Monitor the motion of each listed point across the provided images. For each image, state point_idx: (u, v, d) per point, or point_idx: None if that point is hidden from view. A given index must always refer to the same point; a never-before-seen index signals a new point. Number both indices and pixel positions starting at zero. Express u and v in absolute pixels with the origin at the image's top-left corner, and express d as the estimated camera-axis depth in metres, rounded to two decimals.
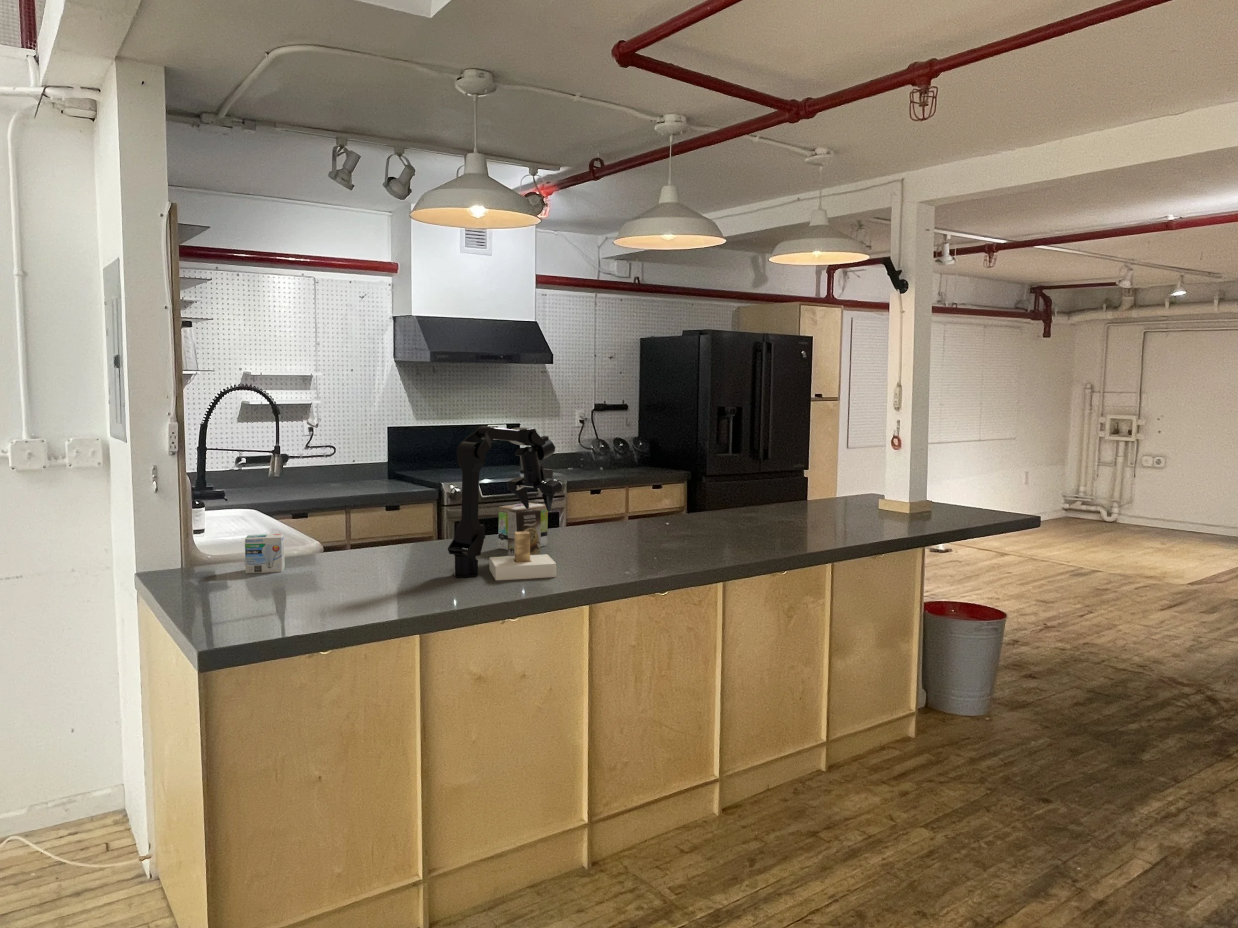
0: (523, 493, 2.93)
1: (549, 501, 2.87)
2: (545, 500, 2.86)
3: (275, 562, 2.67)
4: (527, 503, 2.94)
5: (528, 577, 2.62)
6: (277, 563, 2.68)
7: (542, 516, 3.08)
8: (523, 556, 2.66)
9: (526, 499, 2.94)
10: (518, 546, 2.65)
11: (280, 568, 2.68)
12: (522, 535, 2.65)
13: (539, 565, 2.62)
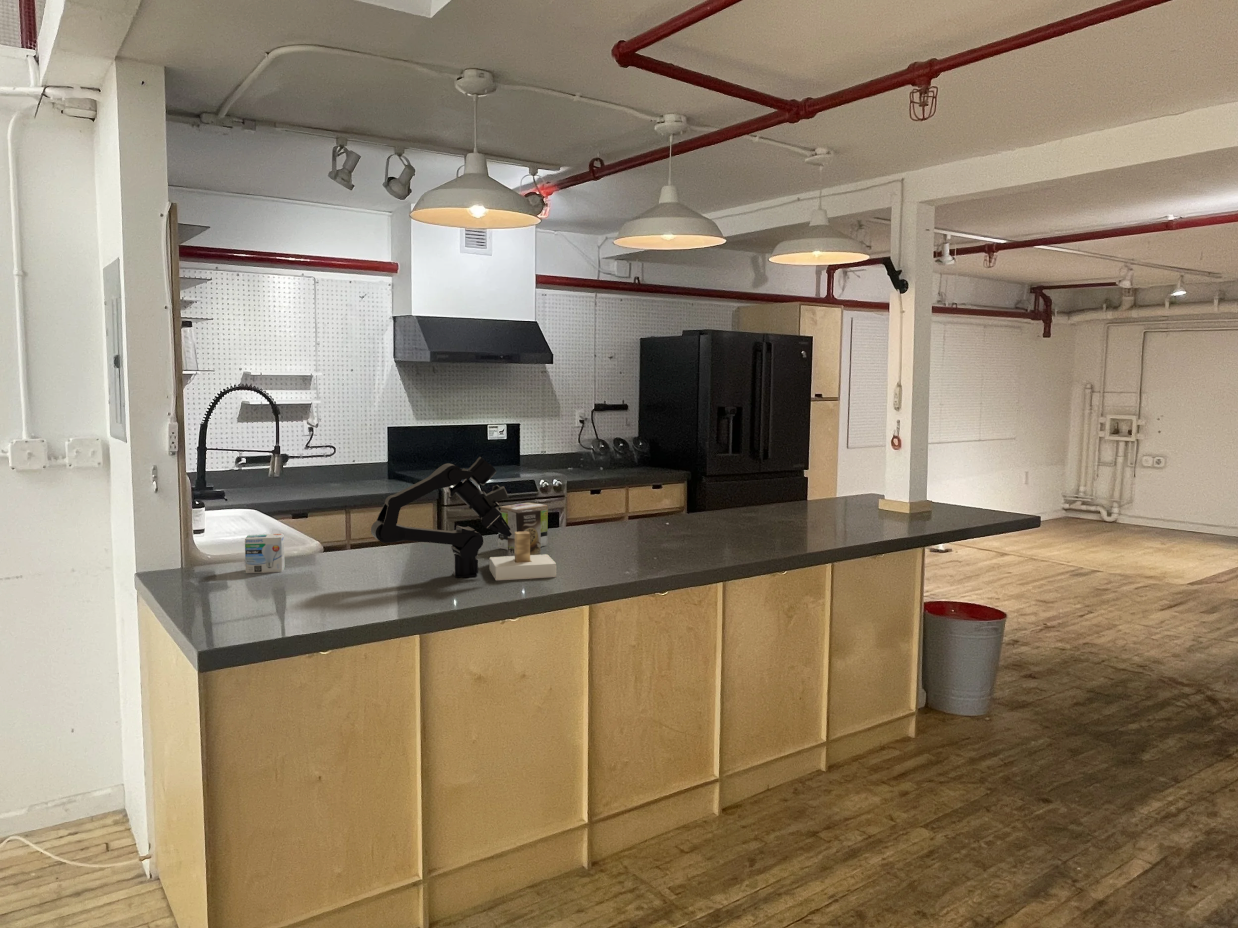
0: None
1: (500, 529, 2.60)
2: (494, 530, 2.60)
3: (275, 562, 2.67)
4: (505, 525, 2.71)
5: (528, 577, 2.62)
6: (277, 563, 2.68)
7: (542, 516, 3.08)
8: (523, 556, 2.66)
9: None
10: (518, 546, 2.65)
11: (280, 568, 2.68)
12: (522, 535, 2.65)
13: (539, 565, 2.62)
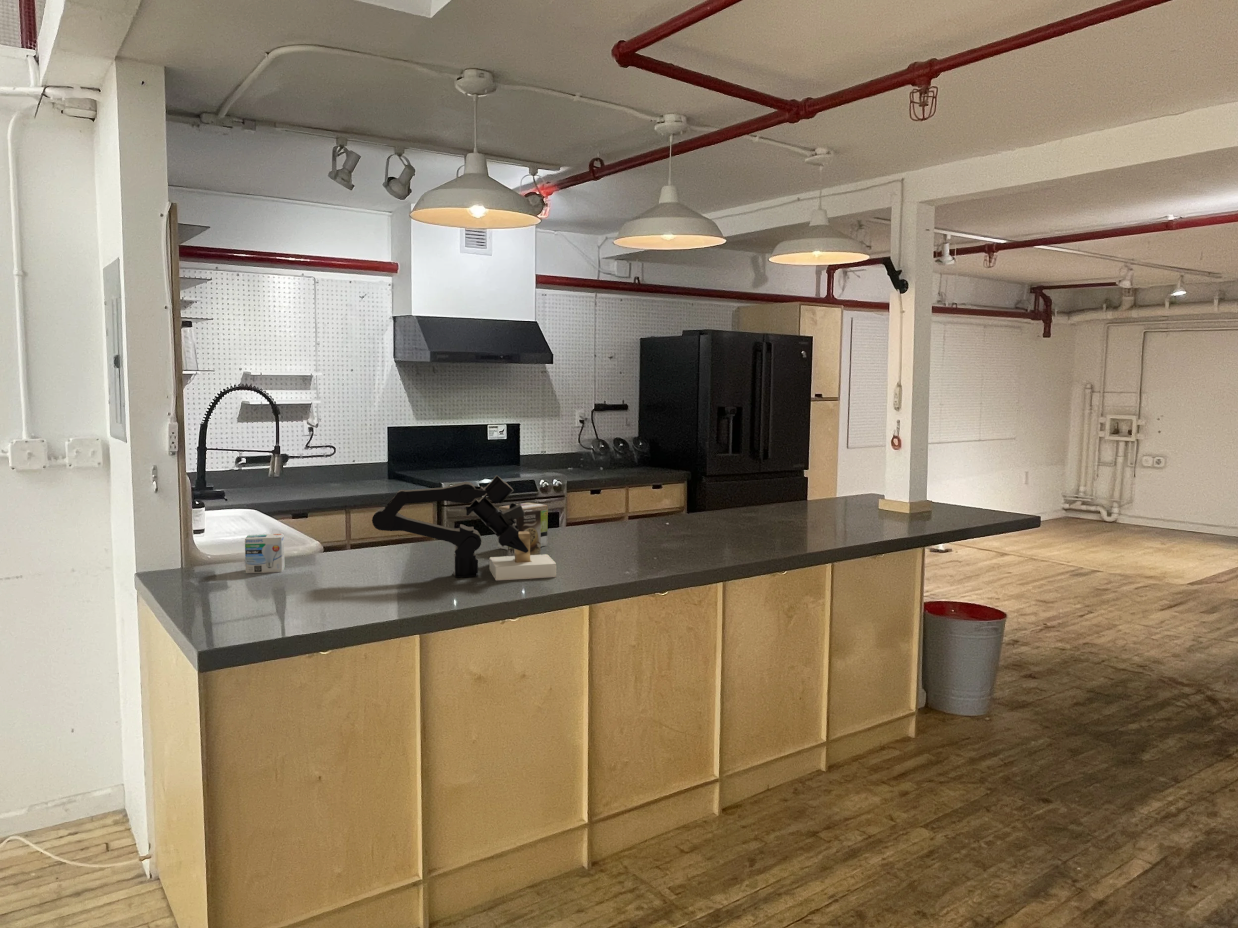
0: None
1: (517, 545, 2.63)
2: None
3: (275, 562, 2.67)
4: None
5: (528, 577, 2.62)
6: (277, 563, 2.68)
7: (542, 516, 3.08)
8: (523, 556, 2.66)
9: None
10: None
11: (280, 568, 2.68)
12: (522, 535, 2.65)
13: (539, 565, 2.62)
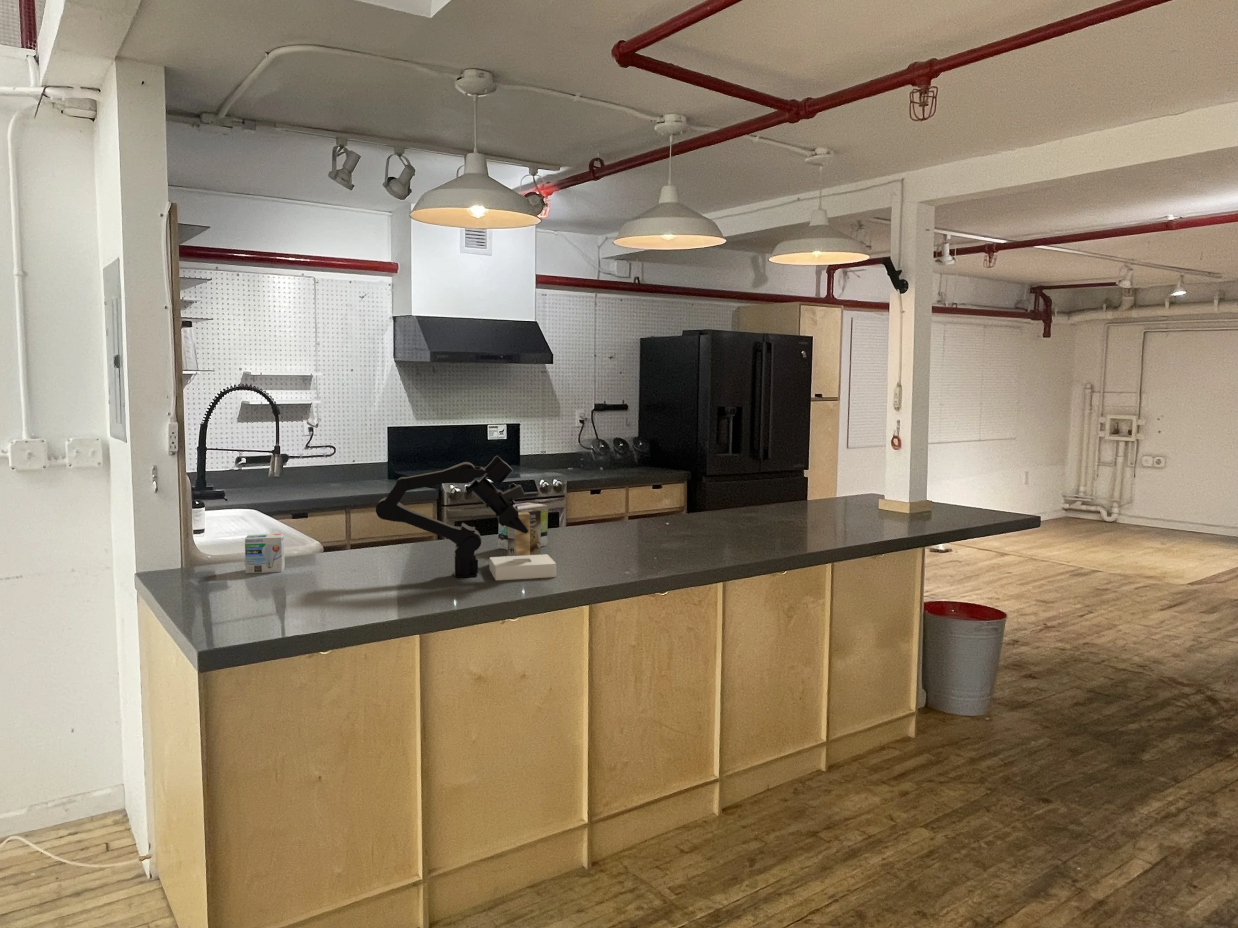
0: None
1: (517, 525, 2.63)
2: (511, 527, 2.63)
3: (275, 562, 2.67)
4: None
5: (528, 577, 2.62)
6: (277, 563, 2.68)
7: (542, 516, 3.08)
8: (522, 537, 2.65)
9: None
10: None
11: (280, 568, 2.68)
12: (522, 515, 2.64)
13: (539, 565, 2.62)
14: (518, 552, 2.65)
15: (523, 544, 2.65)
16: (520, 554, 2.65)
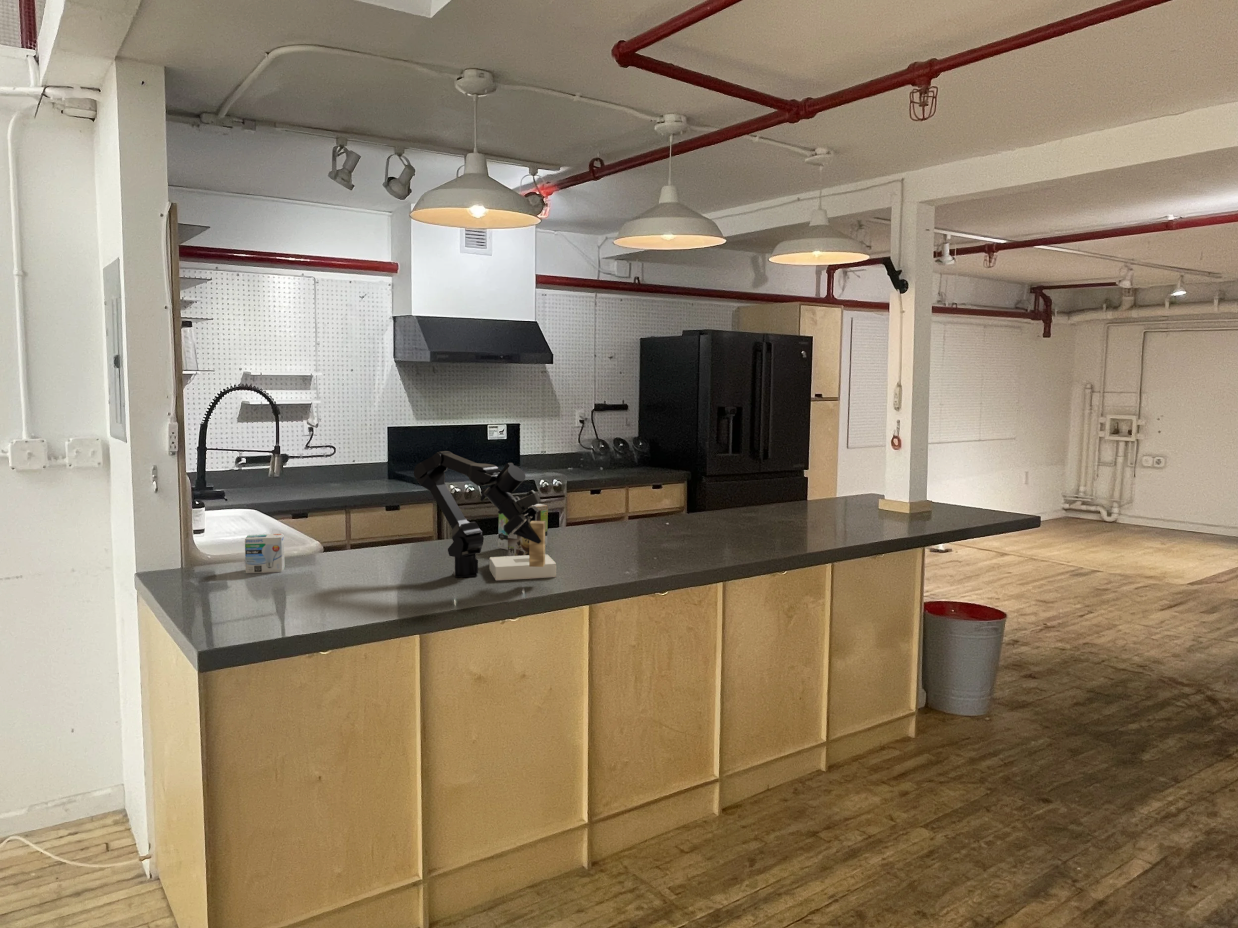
0: None
1: (528, 535, 2.51)
2: None
3: (275, 562, 2.67)
4: None
5: (528, 577, 2.62)
6: (277, 563, 2.68)
7: (542, 516, 3.08)
8: (535, 547, 2.52)
9: None
10: None
11: (280, 568, 2.68)
12: (535, 525, 2.51)
13: None
14: (531, 563, 2.53)
15: (536, 555, 2.52)
16: (533, 565, 2.53)
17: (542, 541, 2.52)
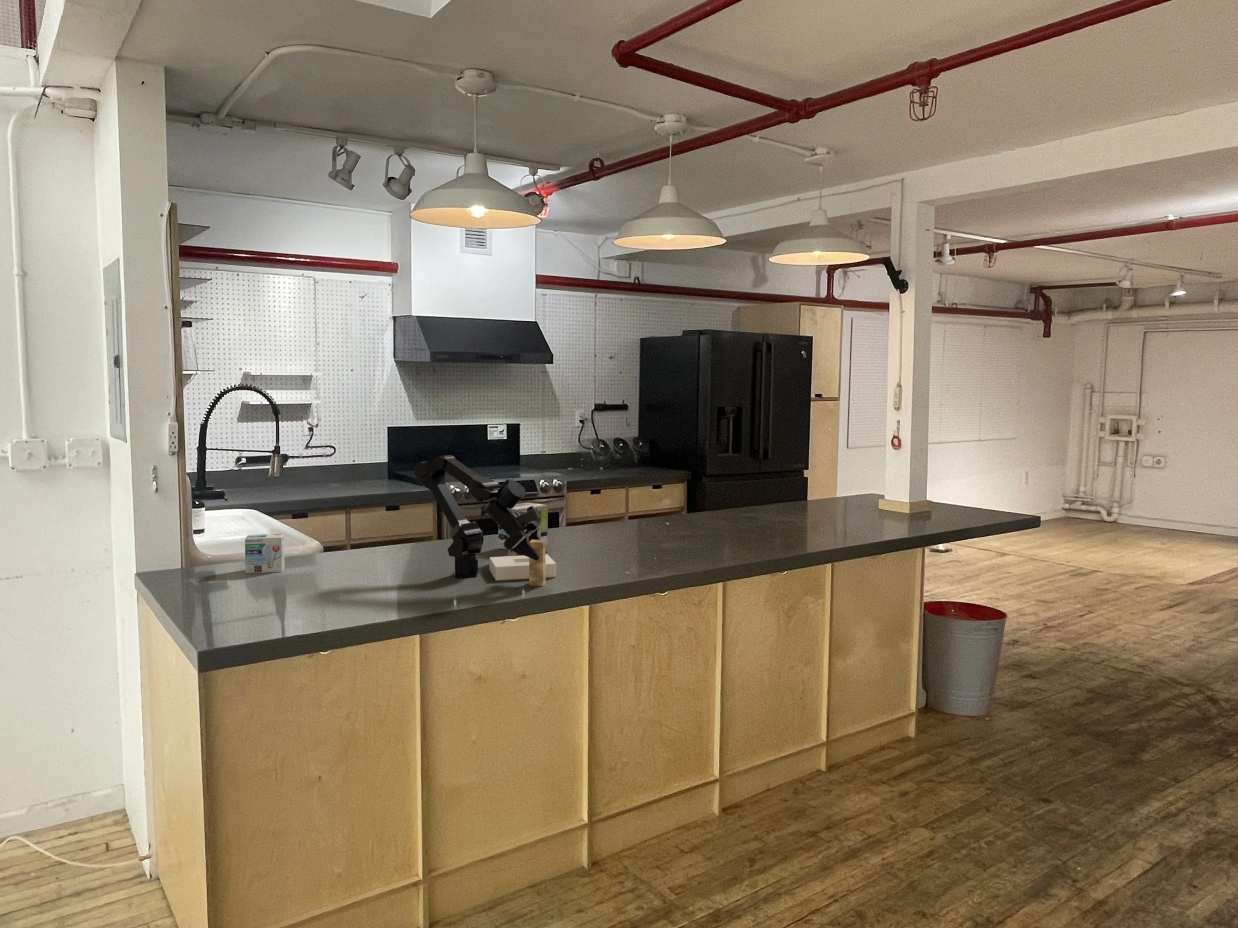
0: None
1: (527, 552, 2.49)
2: None
3: (275, 562, 2.67)
4: None
5: (528, 577, 2.62)
6: (277, 563, 2.68)
7: (542, 516, 3.08)
8: (535, 566, 2.53)
9: None
10: None
11: (280, 568, 2.68)
12: (535, 544, 2.52)
13: None
14: (531, 581, 2.53)
15: (536, 573, 2.53)
16: (533, 584, 2.53)
17: (542, 560, 2.52)
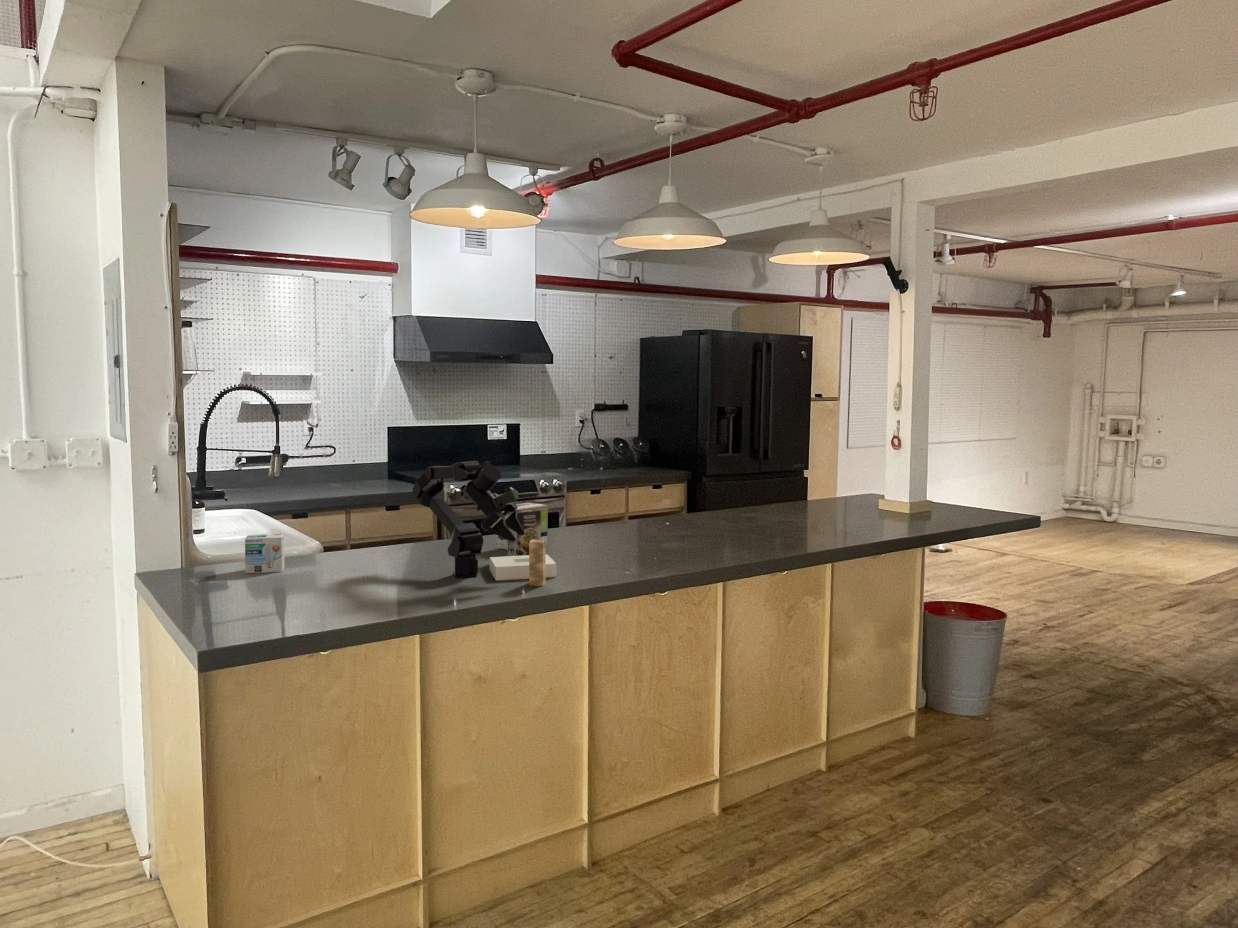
0: (510, 521, 2.62)
1: (503, 533, 2.52)
2: None
3: (275, 562, 2.67)
4: (520, 529, 2.62)
5: (528, 577, 2.62)
6: (277, 563, 2.68)
7: (542, 516, 3.08)
8: (535, 566, 2.53)
9: (517, 526, 2.62)
10: (530, 555, 2.52)
11: (280, 568, 2.68)
12: (535, 544, 2.52)
13: None
14: (531, 581, 2.53)
15: (536, 573, 2.53)
16: (533, 584, 2.53)
17: (542, 560, 2.52)
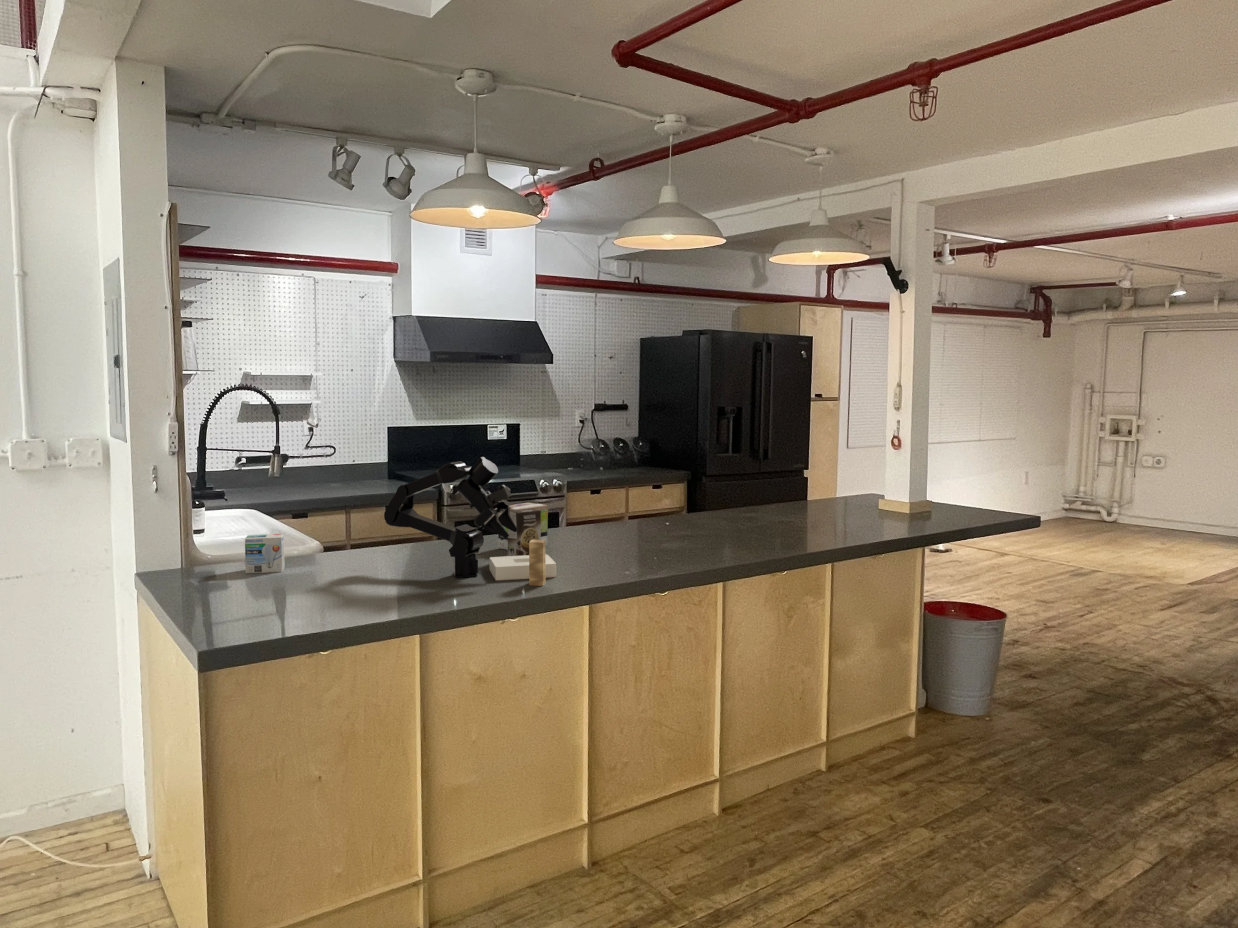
0: (503, 518, 2.66)
1: (496, 529, 2.56)
2: None
3: (275, 562, 2.67)
4: (513, 526, 2.66)
5: (528, 577, 2.62)
6: (277, 563, 2.68)
7: (542, 516, 3.08)
8: (535, 566, 2.53)
9: (510, 523, 2.66)
10: (530, 555, 2.52)
11: (280, 568, 2.68)
12: (535, 544, 2.52)
13: None
14: (531, 581, 2.53)
15: (536, 573, 2.53)
16: (533, 584, 2.53)
17: (542, 560, 2.52)
